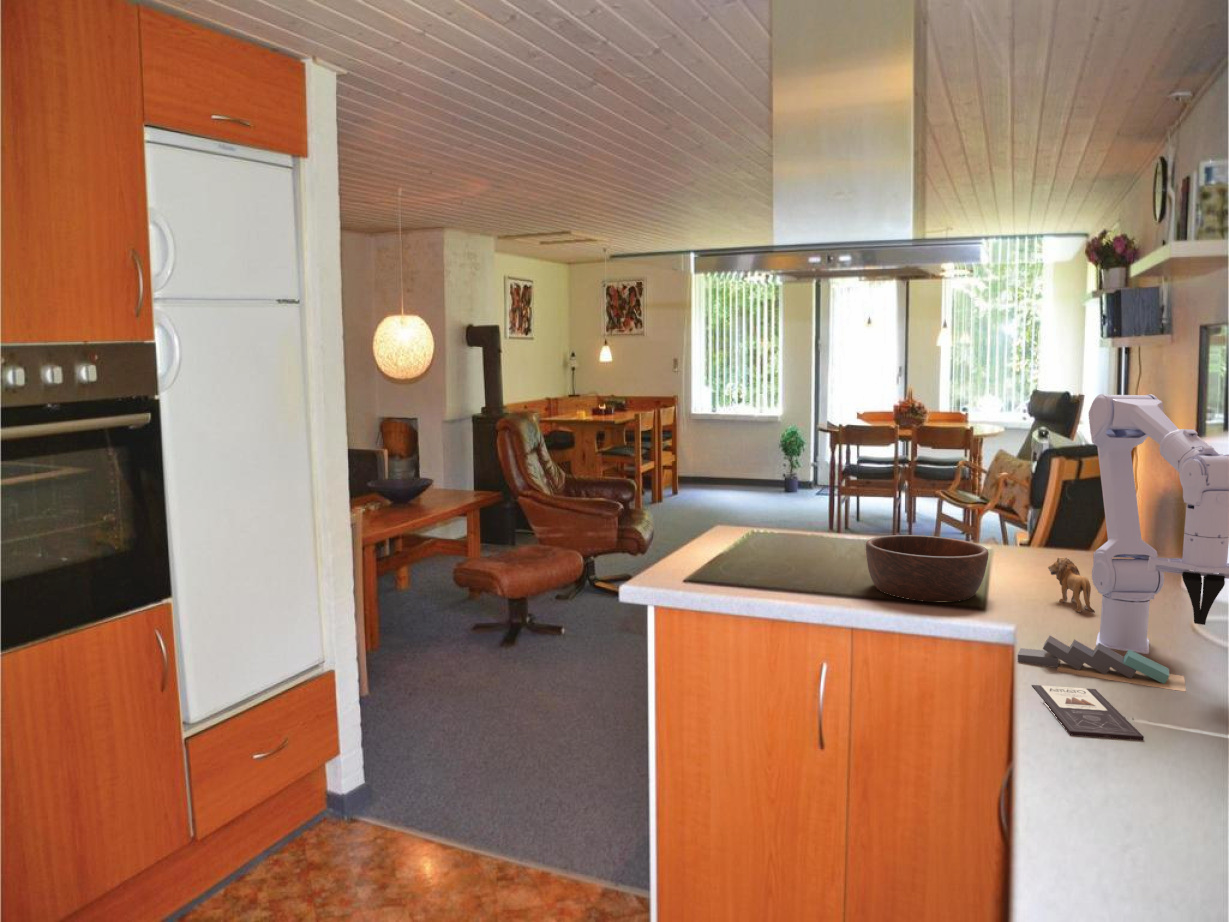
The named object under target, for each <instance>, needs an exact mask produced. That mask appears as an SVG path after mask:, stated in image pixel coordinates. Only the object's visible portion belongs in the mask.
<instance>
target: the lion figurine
mask: <svg viewBox="0 0 1229 922" xmlns="http://www.w3.org/2000/svg"><path fill="white" fill-rule="evenodd" d="M1047 569H1048V571H1049V572H1050V575H1051V576H1055V578H1056V580H1058V582H1059V585H1060V586H1061V593H1062V594H1061V595H1062V598H1060V599H1059V603H1067V601H1068V594H1067V593H1068V590H1070V591H1072V596H1071V599H1070V601H1071V602H1072V603H1076V606H1077V608H1075V609H1074V611H1075V613H1081V612H1082V611H1083V608H1082V606H1083V605H1082V601H1081V599H1080V598H1081V593H1083V594H1082V595H1083V600H1084V603H1085V606H1084V609H1085V610H1088V612H1091V613H1092V614H1095V613H1096V611H1095V610H1094V609H1093V608H1092V606H1091V602H1090V601H1091V600H1090V599H1091V592H1092V588H1091V583H1090V581H1089V578H1088V577H1086V576H1083V575H1081V574H1080V571H1079V568H1078V567H1077V565H1075V563H1074V562H1073V561H1072V560H1070V559H1069V558H1067V557H1064V556H1061V557H1060V556H1059V557H1057V559H1056V561H1054V562H1053V564H1051V565H1049V566H1048V567H1047Z"/></svg>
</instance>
